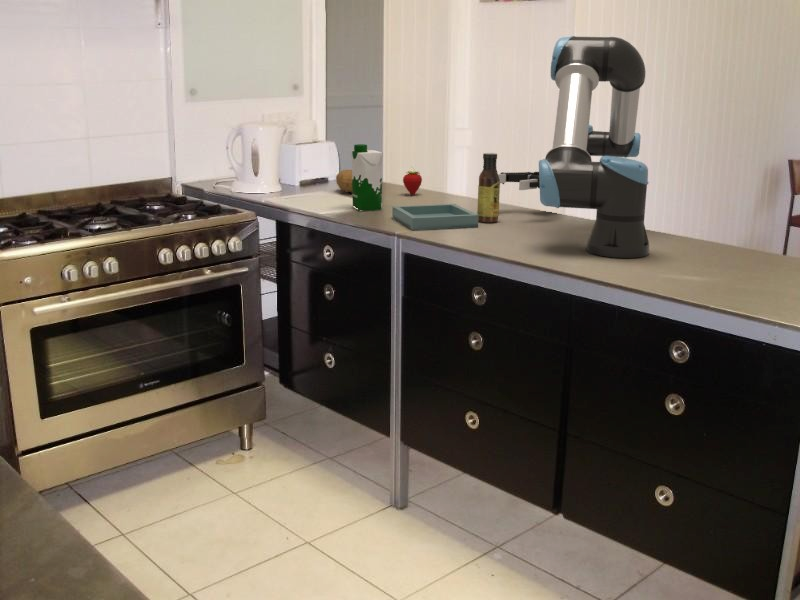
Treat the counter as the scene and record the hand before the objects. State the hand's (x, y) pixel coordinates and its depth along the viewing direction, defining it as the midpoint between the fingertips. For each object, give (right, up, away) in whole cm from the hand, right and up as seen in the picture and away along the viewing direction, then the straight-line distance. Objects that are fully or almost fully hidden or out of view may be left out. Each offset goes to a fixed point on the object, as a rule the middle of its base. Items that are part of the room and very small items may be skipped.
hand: (504, 182), depth 257 cm
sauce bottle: (-5, -12, -1) cm, 13 cm away
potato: (-48, +3, +49) cm, 68 cm away
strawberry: (-27, +1, +44) cm, 51 cm away
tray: (-21, -12, -4) cm, 24 cm away
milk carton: (-41, -6, +18) cm, 45 cm away
